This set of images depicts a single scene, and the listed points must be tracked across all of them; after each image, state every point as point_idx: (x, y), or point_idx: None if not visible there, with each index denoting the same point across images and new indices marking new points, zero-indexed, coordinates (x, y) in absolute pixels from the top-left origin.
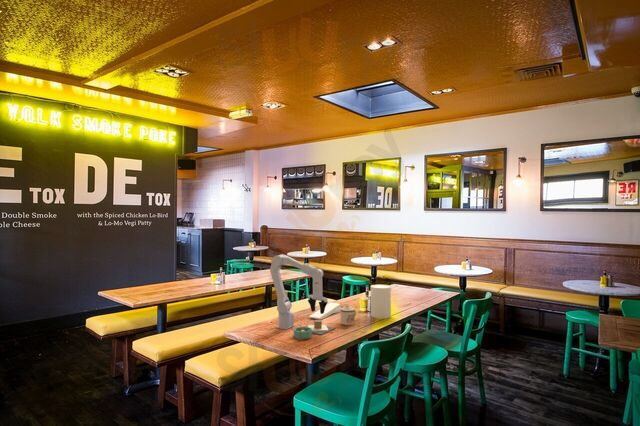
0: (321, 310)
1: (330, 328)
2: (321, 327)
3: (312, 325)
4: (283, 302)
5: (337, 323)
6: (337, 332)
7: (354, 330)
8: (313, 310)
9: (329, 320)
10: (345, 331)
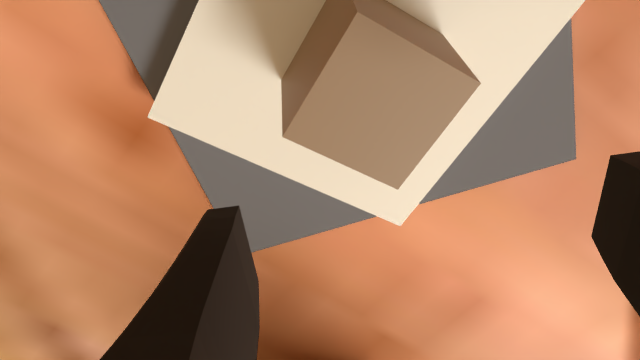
0: (166, 285)
1: (252, 198)
2: (283, 83)
3: (513, 54)
4: None
5: (397, 354)
6: (85, 187)
7: (70, 352)
8: (614, 209)
9: (542, 350)
10: (79, 275)
